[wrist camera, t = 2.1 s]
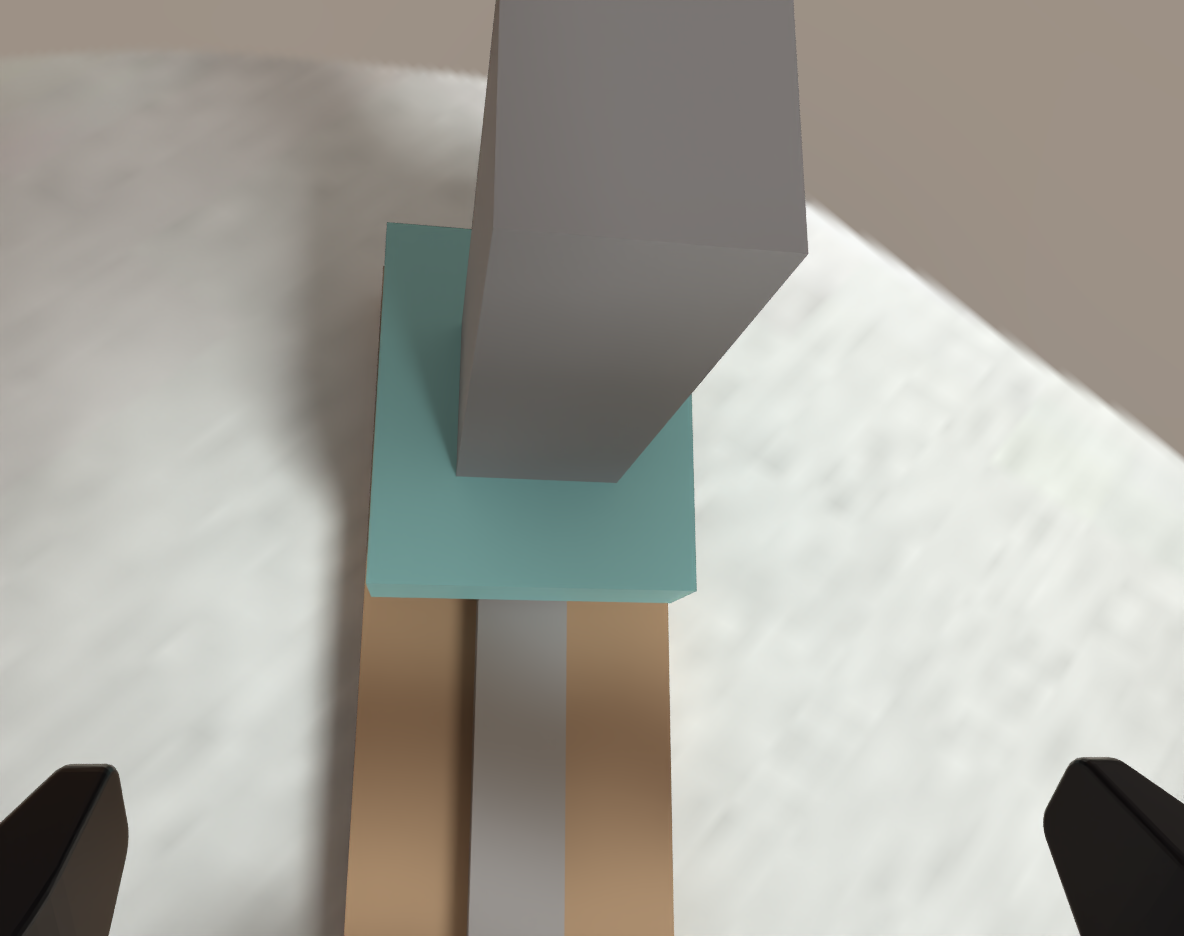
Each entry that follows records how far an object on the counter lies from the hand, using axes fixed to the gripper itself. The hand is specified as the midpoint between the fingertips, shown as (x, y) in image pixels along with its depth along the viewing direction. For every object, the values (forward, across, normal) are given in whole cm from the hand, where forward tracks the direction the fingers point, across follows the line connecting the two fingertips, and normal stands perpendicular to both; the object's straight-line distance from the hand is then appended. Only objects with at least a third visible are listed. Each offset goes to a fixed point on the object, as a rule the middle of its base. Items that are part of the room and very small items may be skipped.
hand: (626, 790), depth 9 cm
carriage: (+12, 0, +3) cm, 12 cm away
